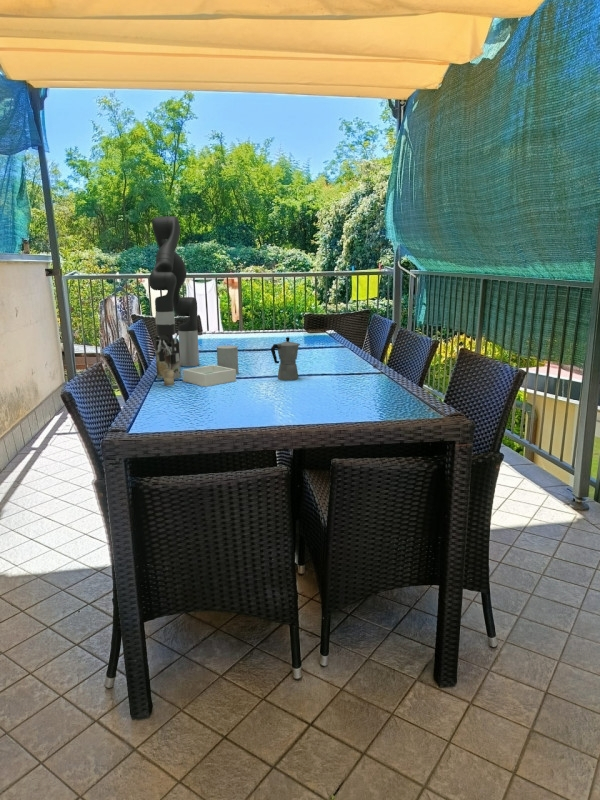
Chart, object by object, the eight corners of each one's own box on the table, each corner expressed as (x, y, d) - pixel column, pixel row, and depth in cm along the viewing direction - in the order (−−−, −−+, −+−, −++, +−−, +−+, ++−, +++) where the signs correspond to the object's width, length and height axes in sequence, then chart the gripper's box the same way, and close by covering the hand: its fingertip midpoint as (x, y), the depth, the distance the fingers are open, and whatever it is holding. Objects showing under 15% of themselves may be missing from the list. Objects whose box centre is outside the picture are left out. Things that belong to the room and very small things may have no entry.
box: (183, 381, 235) (182, 369, 234) (213, 375, 246) (213, 364, 245) (205, 386, 224) (204, 374, 223) (236, 380, 235) (235, 369, 233)
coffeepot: (293, 375, 247) (292, 335, 243) (306, 378, 240) (306, 337, 236) (265, 379, 237) (264, 337, 233) (278, 382, 230) (277, 340, 226)
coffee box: (182, 377, 243) (180, 341, 239) (172, 379, 238) (170, 342, 234) (166, 375, 247) (163, 339, 243) (156, 378, 242) (153, 341, 238)
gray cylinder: (231, 376, 245) (230, 348, 242) (213, 374, 249) (212, 347, 246) (242, 372, 253) (241, 346, 250) (225, 371, 257) (224, 344, 254)
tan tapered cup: (162, 384, 228) (161, 370, 227) (170, 383, 231) (170, 369, 229) (167, 386, 225) (166, 371, 224) (176, 384, 228) (175, 370, 226)
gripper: (147, 322, 224) (150, 361, 228) (166, 324, 214) (168, 365, 218) (164, 321, 229) (166, 359, 233) (183, 323, 220) (185, 363, 223)
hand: (167, 362), depth 226 cm, fingers open, 8 cm apart
